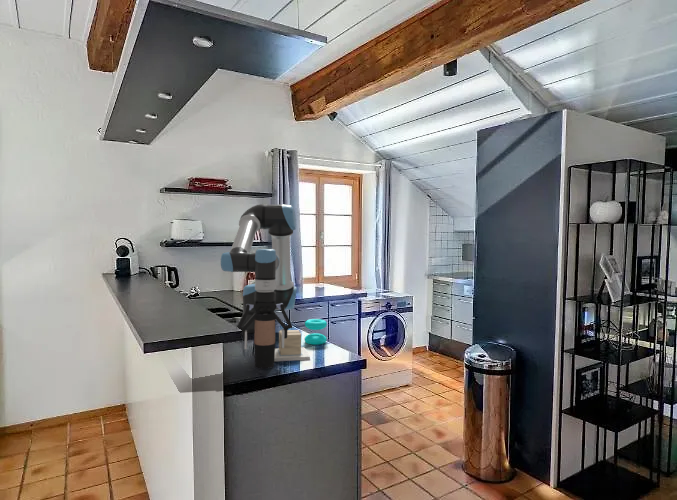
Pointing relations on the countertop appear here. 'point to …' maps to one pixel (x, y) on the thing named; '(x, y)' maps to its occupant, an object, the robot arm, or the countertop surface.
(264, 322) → the travel mug
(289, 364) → the countertop surface
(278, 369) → the countertop surface
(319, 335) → the donuts
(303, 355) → the white flat square slab
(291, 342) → the wooden cube
